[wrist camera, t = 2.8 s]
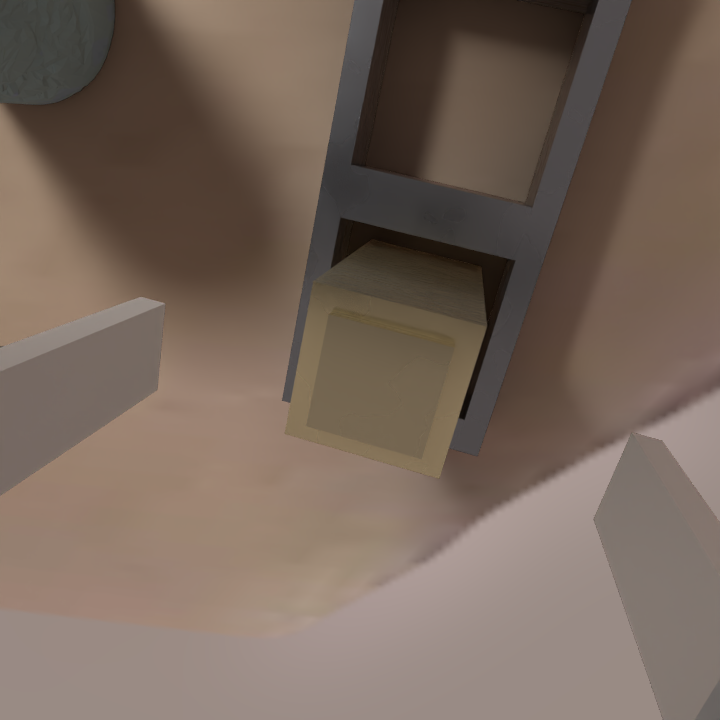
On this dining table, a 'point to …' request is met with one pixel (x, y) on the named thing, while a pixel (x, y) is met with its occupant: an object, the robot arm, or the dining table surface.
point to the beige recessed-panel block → (389, 355)
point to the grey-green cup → (52, 47)
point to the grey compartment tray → (455, 191)
